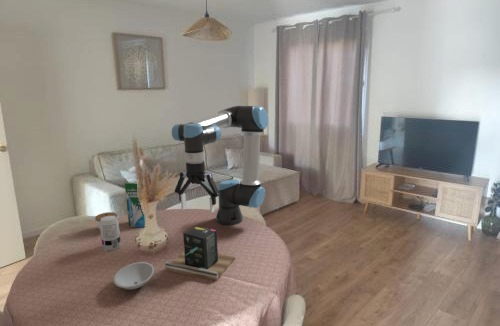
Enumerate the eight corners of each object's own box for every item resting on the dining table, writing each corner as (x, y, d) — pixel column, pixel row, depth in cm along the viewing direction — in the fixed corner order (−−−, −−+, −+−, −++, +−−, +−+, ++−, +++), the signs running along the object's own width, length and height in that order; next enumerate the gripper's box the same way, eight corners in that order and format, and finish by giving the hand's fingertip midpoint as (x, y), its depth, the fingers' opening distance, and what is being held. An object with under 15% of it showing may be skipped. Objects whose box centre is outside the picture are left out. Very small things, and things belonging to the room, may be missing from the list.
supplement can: (98, 250, 157) (95, 220, 153) (111, 242, 164) (108, 214, 161) (112, 253, 154) (108, 222, 150) (124, 245, 161) (121, 216, 158)
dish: (124, 273, 137) (123, 262, 136) (159, 272, 137) (158, 261, 136) (107, 300, 119) (106, 287, 118) (147, 299, 120) (146, 286, 119)
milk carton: (151, 220, 190) (147, 178, 185) (144, 227, 182) (140, 183, 176) (136, 220, 191) (132, 178, 186) (128, 226, 183) (124, 183, 177)
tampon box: (218, 261, 143) (217, 229, 140) (205, 271, 135) (203, 238, 132) (198, 255, 148) (196, 224, 145) (184, 264, 140) (182, 232, 137)
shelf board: (188, 250, 155) (187, 243, 155) (235, 259, 147) (235, 252, 146) (165, 269, 139) (164, 262, 138) (216, 280, 130) (216, 273, 130)
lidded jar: (103, 224, 186) (102, 209, 184) (121, 225, 184) (120, 209, 182) (92, 232, 175) (90, 216, 173) (111, 233, 174) (109, 217, 172)
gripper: (163, 161, 137) (167, 210, 142) (218, 165, 129) (221, 216, 134) (173, 157, 144) (177, 204, 149) (226, 161, 136) (228, 210, 141)
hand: (198, 210), depth 141 cm, fingers open, 13 cm apart
